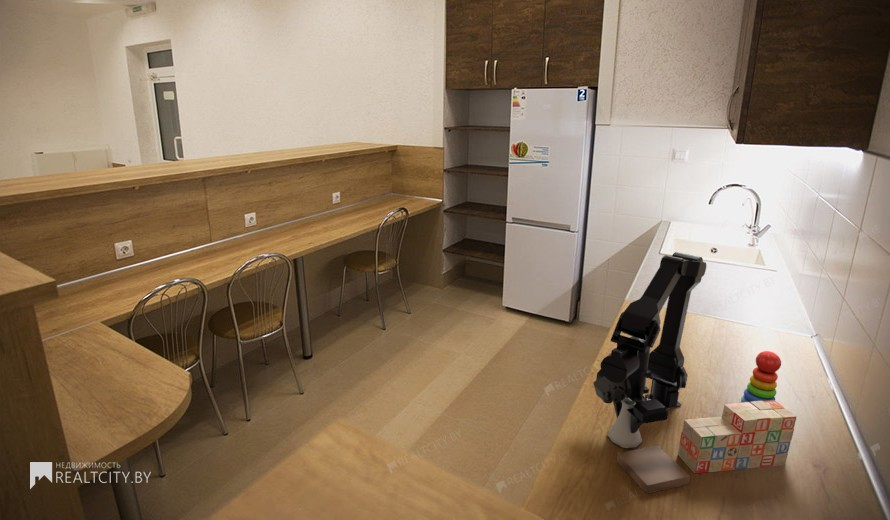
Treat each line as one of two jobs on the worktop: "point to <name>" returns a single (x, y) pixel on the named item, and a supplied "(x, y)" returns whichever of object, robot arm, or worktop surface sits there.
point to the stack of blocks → (738, 437)
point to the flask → (624, 428)
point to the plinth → (652, 469)
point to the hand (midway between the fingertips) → (626, 425)
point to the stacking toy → (763, 378)
